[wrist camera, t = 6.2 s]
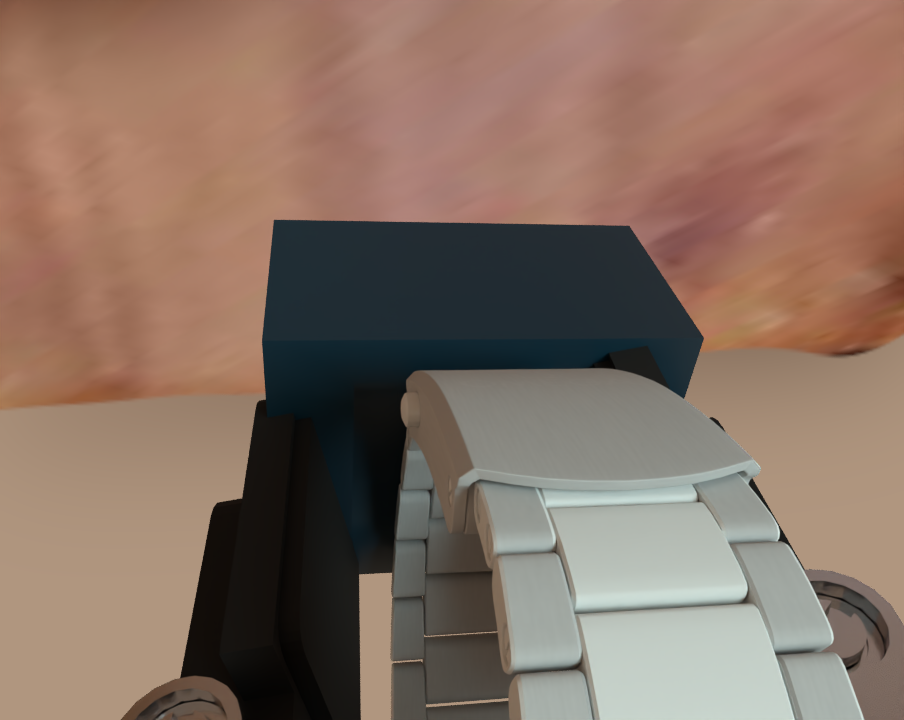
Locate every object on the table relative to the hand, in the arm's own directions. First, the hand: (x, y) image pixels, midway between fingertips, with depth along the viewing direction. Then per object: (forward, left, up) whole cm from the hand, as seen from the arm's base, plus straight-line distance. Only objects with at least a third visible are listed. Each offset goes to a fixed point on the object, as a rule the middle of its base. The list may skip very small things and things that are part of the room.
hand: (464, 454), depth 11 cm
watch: (0, 0, -3) cm, 3 cm away
